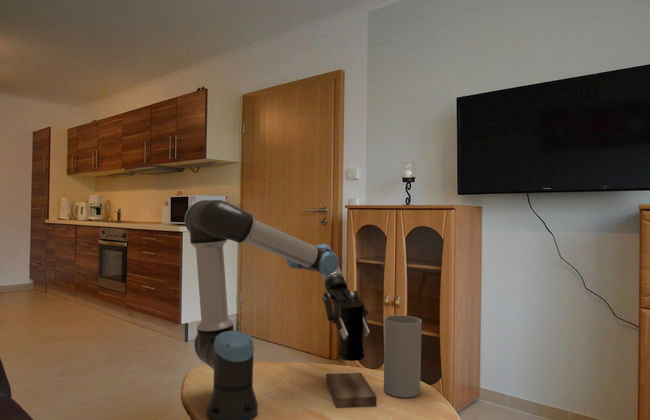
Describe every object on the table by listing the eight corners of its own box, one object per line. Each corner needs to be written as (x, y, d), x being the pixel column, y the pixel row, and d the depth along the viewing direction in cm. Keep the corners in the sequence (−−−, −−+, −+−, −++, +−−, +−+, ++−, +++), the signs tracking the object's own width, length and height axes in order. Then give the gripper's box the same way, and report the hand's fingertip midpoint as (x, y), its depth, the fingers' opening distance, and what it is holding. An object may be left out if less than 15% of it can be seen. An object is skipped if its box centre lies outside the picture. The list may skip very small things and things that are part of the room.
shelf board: (336, 407, 143) (336, 398, 143) (325, 382, 165) (326, 373, 165) (376, 406, 145) (376, 396, 145) (360, 381, 167) (361, 372, 167)
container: (337, 352, 160) (338, 301, 160) (363, 353, 160) (364, 301, 160) (337, 360, 151) (338, 306, 151) (364, 361, 151) (365, 307, 151)
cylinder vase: (387, 382, 166) (388, 314, 166) (421, 387, 162) (423, 317, 162) (380, 395, 154) (382, 321, 154) (418, 401, 150) (419, 325, 150)
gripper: (353, 285, 174) (377, 338, 160) (305, 288, 164) (325, 345, 150) (361, 273, 170) (386, 326, 155) (312, 275, 160) (333, 332, 145)
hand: (356, 335), depth 153 cm, fingers closed on container, 8 cm apart
